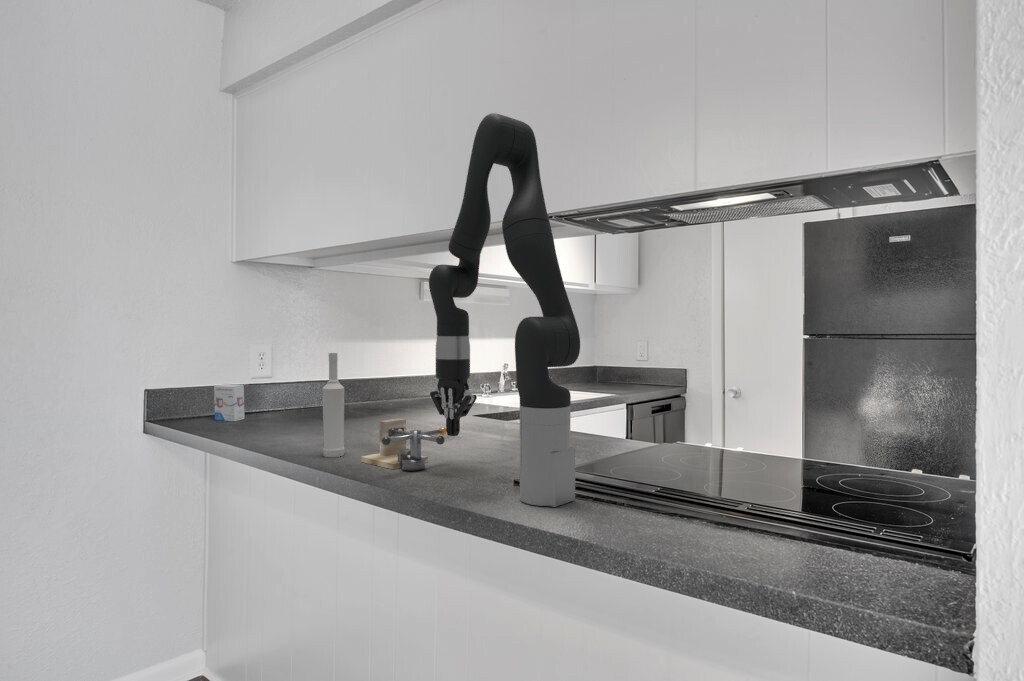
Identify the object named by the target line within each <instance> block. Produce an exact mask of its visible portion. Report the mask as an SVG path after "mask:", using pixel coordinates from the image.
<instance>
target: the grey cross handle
mask: <svg viewBox="0 0 1024 681" xmlns="http://www.w3.org/2000/svg"><path fill="white" fill-rule="evenodd" d="M389 434H390V435H391V436H394V435H401V436H398V437H392V438H389V437H384V438H383V439H382V444H383V445H389V444H390V443H391V442H397V441H403V440H406V441H407V440H408V441H409V449H410V457H406V458H403V459H402V468H401V469H402V470H403V471H409V472H411V471H415V472H416V471H421V470H425V468H426V463H425V458H423V457H421V456H422V440H424V441H430V442H435V443H436V444H438V445H443V444H444V443H445V440H446V439H445V437H444V436H445V435H447V432H446V427H443V426H441V427H440V428H439V429H434V430H428V431H423V432H422V430H420V429H413V430H409V432H408V431H406V432H404V431H398V430H396V429H395V428H391V429H389ZM435 435H438V436H435Z"/></svg>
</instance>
